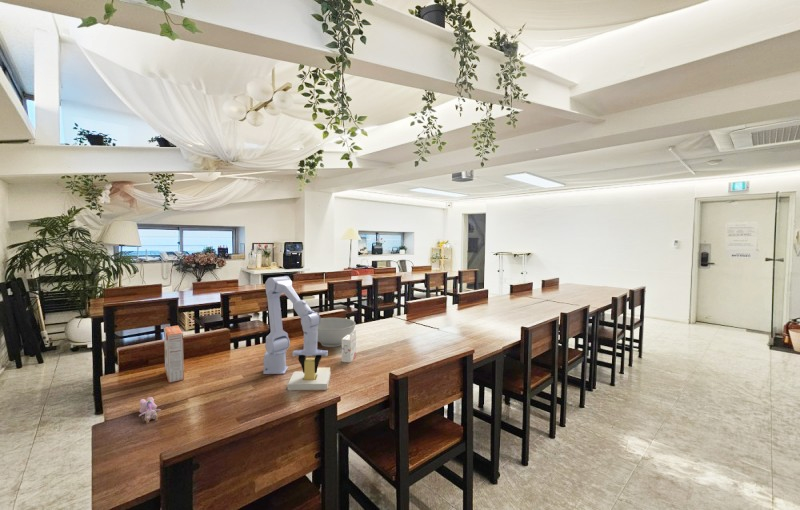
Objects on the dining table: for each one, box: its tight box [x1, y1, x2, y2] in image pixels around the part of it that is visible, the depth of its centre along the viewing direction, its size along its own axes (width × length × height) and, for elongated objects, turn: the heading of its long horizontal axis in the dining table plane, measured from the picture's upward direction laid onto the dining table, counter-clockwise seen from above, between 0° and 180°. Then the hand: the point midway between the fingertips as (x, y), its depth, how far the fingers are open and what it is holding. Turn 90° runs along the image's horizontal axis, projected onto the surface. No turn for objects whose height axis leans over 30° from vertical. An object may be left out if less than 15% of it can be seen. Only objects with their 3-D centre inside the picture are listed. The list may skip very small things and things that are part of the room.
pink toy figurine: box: [138, 396, 162, 425], centre depth 121 cm, size 6×6×15 cm
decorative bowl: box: [317, 317, 356, 348], centre depth 201 cm, size 27×27×12 cm
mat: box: [317, 366, 332, 371], centre depth 161 cm, size 8×8×1 cm
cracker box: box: [163, 325, 185, 384], centre depth 151 cm, size 14×6×21 cm, turn 39°
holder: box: [287, 370, 332, 391], centre depth 149 cm, size 16×13×2 cm
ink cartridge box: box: [341, 329, 357, 363], centre depth 177 cm, size 9×5×15 cm, turn 168°
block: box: [304, 357, 316, 380], centre depth 149 cm, size 4×4×9 cm
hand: (310, 372), depth 149 cm, fingers closed on block, 4 cm apart
